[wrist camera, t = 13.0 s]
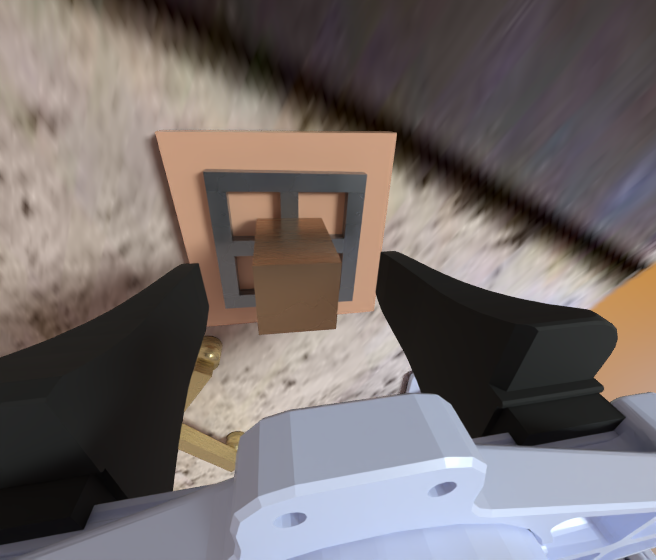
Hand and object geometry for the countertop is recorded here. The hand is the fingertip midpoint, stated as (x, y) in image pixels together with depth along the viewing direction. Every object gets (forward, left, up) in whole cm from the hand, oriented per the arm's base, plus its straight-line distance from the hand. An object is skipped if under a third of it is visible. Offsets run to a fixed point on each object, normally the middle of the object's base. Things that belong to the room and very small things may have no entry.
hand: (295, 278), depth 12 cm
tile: (0, 0, -4) cm, 4 cm away
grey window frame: (0, 0, -4) cm, 4 cm away
